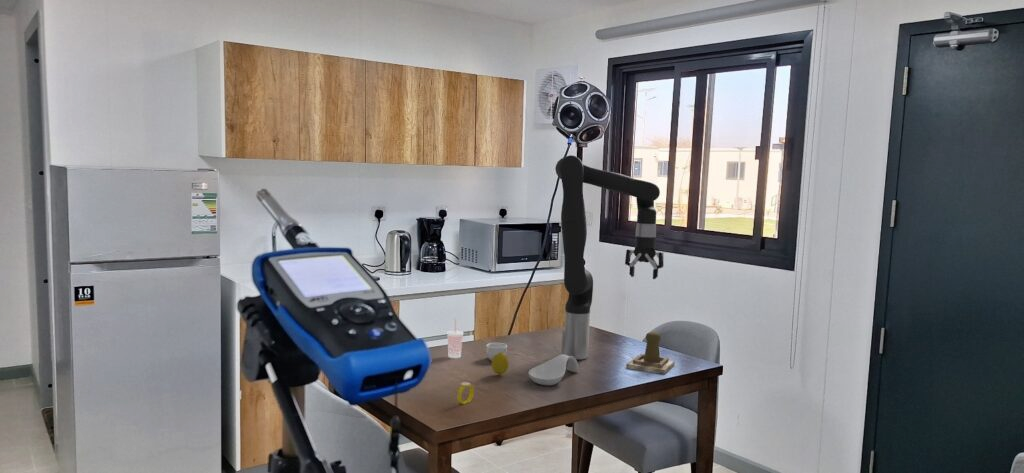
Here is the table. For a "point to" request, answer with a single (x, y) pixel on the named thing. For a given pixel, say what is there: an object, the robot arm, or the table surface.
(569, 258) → the robot arm
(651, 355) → the pepper mill
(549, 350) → the table surface
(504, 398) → the table surface
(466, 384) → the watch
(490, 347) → the teacup
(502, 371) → the lemon
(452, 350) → the beverage cup
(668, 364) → the socket board
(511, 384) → the table surface
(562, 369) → the spoon rest
